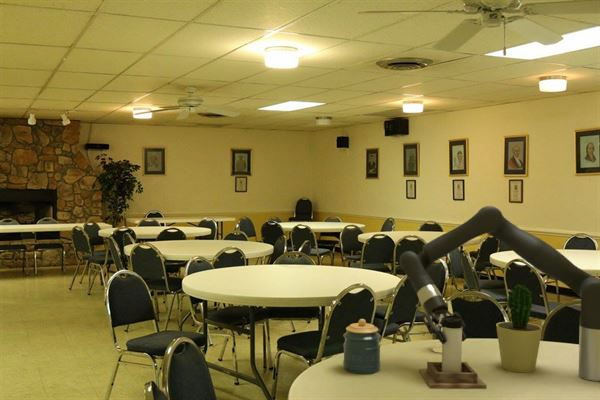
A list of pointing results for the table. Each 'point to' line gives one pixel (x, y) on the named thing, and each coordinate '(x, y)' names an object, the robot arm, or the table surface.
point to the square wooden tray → (451, 377)
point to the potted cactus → (519, 334)
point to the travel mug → (452, 344)
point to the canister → (361, 348)
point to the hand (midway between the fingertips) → (454, 341)
